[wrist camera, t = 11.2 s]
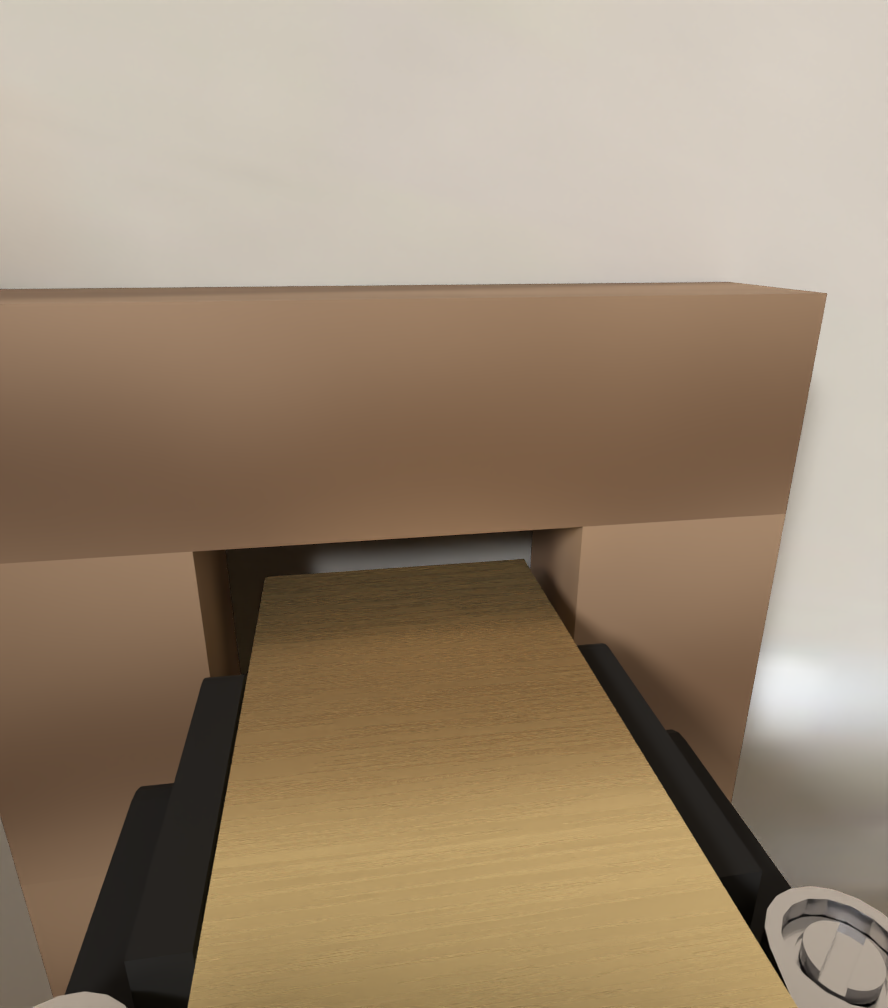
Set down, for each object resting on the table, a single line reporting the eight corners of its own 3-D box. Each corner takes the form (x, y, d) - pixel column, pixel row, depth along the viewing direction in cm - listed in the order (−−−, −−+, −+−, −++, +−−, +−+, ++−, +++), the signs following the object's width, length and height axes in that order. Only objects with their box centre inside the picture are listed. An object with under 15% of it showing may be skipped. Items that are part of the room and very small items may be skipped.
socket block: (-41, 290, 10) (-148, 305, 8) (728, 282, 12) (826, 293, 10) (180, 1228, 19) (160, 1367, 16) (609, 1141, 20) (645, 1256, 18)
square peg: (265, 577, 11) (122, 1371, 3) (523, 559, 11) (914, 1197, 4) (286, 787, 12) (222, 1674, 5) (514, 761, 13) (783, 1513, 5)
